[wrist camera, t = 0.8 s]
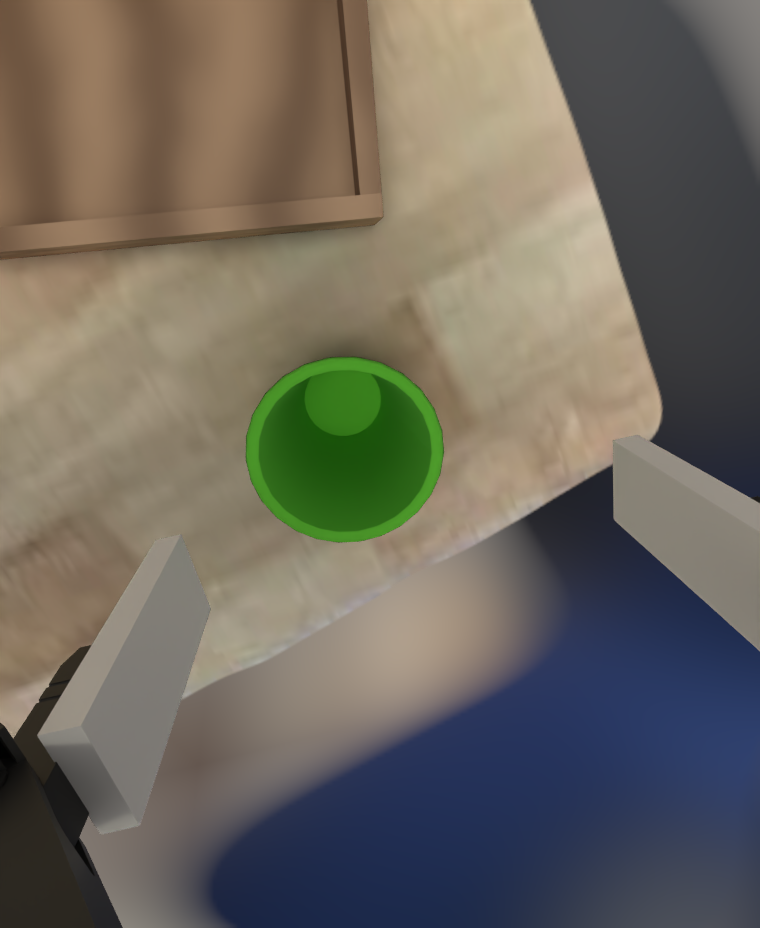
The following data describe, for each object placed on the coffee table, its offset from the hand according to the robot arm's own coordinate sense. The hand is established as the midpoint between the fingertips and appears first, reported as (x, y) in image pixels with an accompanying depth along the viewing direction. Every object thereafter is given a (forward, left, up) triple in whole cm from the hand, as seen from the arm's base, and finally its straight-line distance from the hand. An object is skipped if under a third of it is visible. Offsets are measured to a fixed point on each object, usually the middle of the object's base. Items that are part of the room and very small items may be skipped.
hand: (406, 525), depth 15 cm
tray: (-10, +16, -19) cm, 27 cm away
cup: (-2, -1, -19) cm, 19 cm away
